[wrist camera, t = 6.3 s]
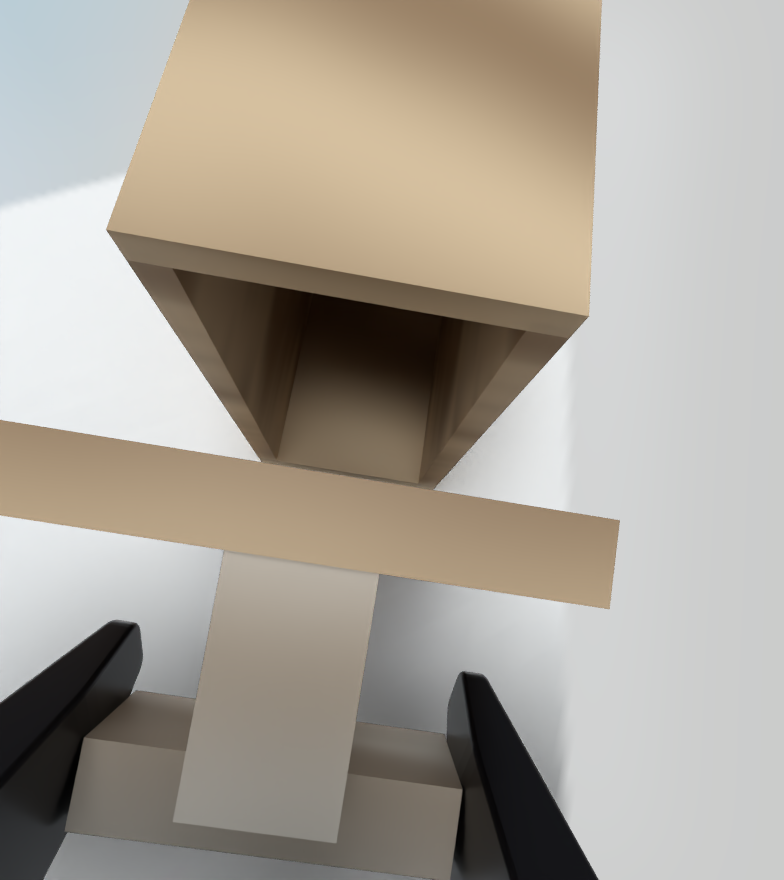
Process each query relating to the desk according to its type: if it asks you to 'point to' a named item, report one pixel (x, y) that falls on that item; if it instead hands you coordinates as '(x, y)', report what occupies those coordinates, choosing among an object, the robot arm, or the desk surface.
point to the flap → (287, 646)
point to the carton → (369, 217)
